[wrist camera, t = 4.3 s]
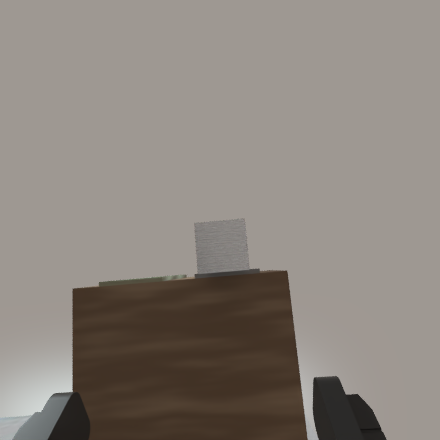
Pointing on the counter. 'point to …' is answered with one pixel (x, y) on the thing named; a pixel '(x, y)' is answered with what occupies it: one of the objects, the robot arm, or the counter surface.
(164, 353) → the stand
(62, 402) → the robot arm
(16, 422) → the counter surface
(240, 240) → the bar
